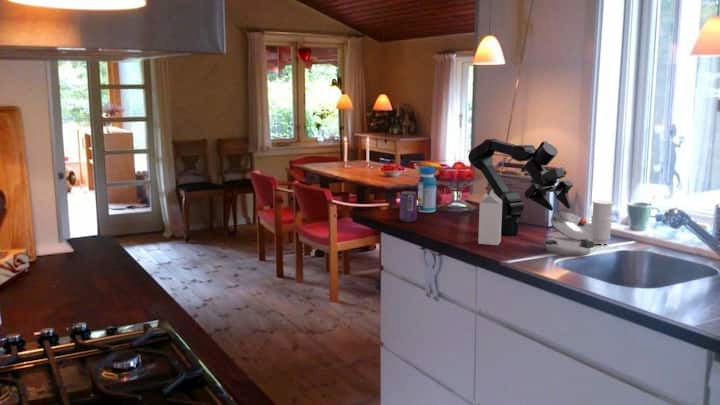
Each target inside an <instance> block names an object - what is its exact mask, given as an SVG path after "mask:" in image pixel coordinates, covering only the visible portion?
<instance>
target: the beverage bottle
mask: <svg viewBox="0 0 720 405" xmlns="http://www.w3.org/2000/svg"><path fill="white" fill-rule="evenodd" d="M419 174H420V177H419V178H418V181H417V183H418V186H417V212H420V213H434V212H436V204H437V203H436V202H437V188H438V187H437V180H436V177H435V176H434V175H435V174H436V167H435V166H429V165H428V166H425V165H424V166H420V168H419Z"/></svg>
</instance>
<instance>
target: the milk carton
mask: <svg viewBox="0 0 720 405" xmlns="http://www.w3.org/2000/svg"><path fill="white" fill-rule="evenodd" d="M481 198H482V200H481V201H479V208H478V209H479V214H478V215H479V218H478V240H477V242H478V243H477V244H479V245H490V246H499V244H500V243H501V242H502V241H501V239H502V235H501V222H502V200H501V199H500V198H499V197H498V196H497V195H496V193H495V192H494V190H493V189H492V188H491V191H490V192H489V194H488V193H485V194H483V195H482V196H481Z"/></svg>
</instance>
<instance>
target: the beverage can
mask: <svg viewBox="0 0 720 405" xmlns="http://www.w3.org/2000/svg"><path fill="white" fill-rule="evenodd" d="M417 212H418V195H417V192H416V191H413V190H411V191H407V190H406V191H401V193H400V196H399V219H400V221H402V222H405V223H410V222H411V223H412V222H414V221H416V220H417V219H418V218H417V216H418V215H417V214H418V213H417Z"/></svg>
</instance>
